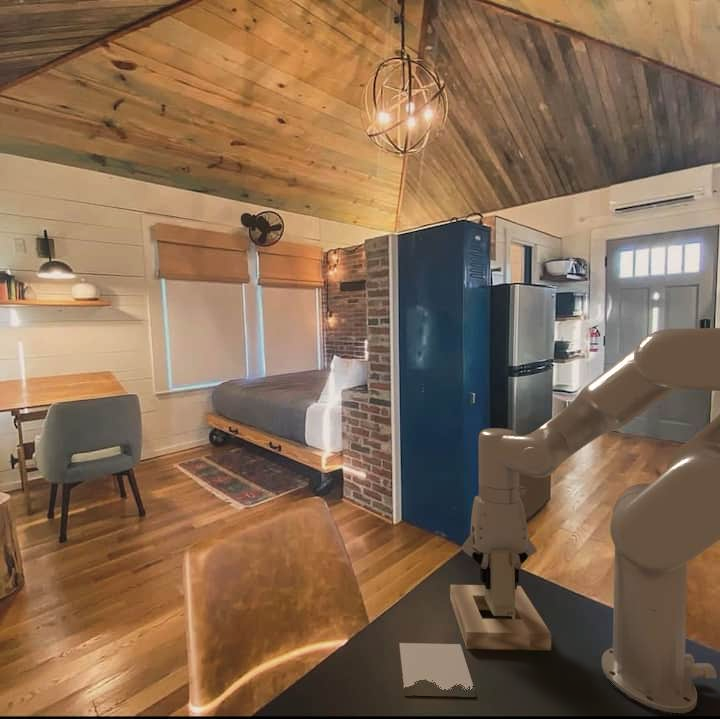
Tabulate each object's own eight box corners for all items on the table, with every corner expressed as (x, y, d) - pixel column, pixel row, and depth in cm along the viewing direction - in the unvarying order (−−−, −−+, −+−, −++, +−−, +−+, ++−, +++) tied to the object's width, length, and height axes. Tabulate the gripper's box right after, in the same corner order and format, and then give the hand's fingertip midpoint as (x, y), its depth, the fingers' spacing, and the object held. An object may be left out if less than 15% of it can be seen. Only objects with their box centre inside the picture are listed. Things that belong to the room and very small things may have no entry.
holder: (520, 599, 88) (520, 585, 88) (551, 650, 73) (551, 633, 73) (450, 598, 88) (450, 584, 88) (466, 648, 73) (466, 632, 73)
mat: (460, 646, 74) (460, 644, 74) (476, 697, 63) (476, 695, 63) (399, 645, 74) (399, 642, 74) (404, 696, 63) (404, 693, 63)
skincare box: (516, 617, 77) (516, 552, 77) (493, 617, 77) (492, 552, 77) (505, 597, 84) (504, 537, 84) (483, 597, 84) (483, 537, 84)
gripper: (534, 486, 84) (534, 575, 84) (451, 486, 84) (452, 575, 84) (550, 499, 76) (550, 597, 76) (459, 499, 77) (460, 596, 77)
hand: (499, 584), depth 80 cm, fingers closed on skincare box, 4 cm apart
